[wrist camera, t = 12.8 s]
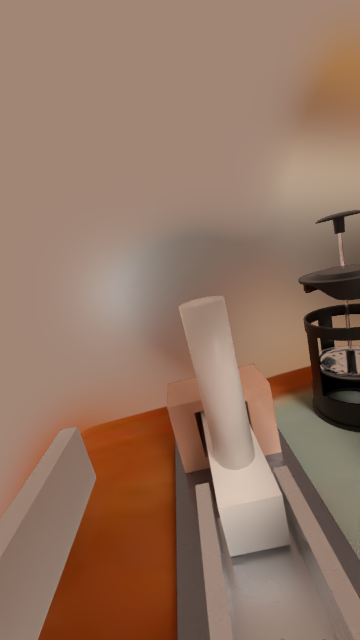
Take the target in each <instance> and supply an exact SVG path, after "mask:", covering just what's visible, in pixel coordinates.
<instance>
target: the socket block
mask: <svg viewBox="0 0 360 640" xmlns="http://www.w3.org/2000/svg"><path fill="white" fill-rule="evenodd" d="M238 370H239V375H240V380H241V385H242V390H243V395H244V400H245V405H246V410H247V415H248V420H249V424H250V426H251V428H252V430H253V433H254V435H255V437H256V439H257V441H258V443H259V446H260V448H261V450H262V452H263V454H264V456H266V455H270V454H275V453H279V452H281V446H280V440H279V434H278V428H277V423H276V417H275V411H274V405H273V399H272V394H271V388H270V384H269V382H268V381H267V380H266V379H265V377H264V376H263V375H262V373H261V372H260V371H259V369H258V368H257V367H256V366H255V364H249V365H245V366H241V367H238ZM167 410H168V413H169V417H170V421H171V424H172V428H173V431H174V435H175V438H176V442H177V446H178V449H179V453H180V456H181V460H182V463H183V467H184V470H185V473H188V472H193V471H198V470H202V469H207V468H211V467H210V461H209V456H208V450H207V445H206V439H205V433H204V428H203V422H202V417H201V413H200V412H201V411H204V409H203V404H202V400H201V396H200V392H199V388H198V384H197V380H196V377H193V378H189V379H185V380H181V381H176V382H172V383H168V394H167Z"/></svg>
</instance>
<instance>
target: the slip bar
mask: <svg viewBox="0 0 360 640" xmlns="http://www.w3.org/2000/svg"><path fill="white" fill-rule="evenodd" d="M179 310H180V314H181V318H182V322H183V327H184V331H185V335H186V339H187V343H188V347H189V351H190V355H191V359H192V363H193V367H194V371H195V375H196V380H197V384H198V388H199V392H200V396H201V400H202V404H203V409H204V411H201V412H200V413H201V417H202V422H203V428H204V433H205V439H206V445H207V450H208V456H209V461H210V467H211V473H212V478H213V484H214V489H215V495H216V501H217V506H218V511H219V515H220V519H221V523H222V526H223V530H224V534H225V538H226V542H227V546H228V550H229V554H230V557H232V556H237V555H242V554H247V553H251V552H256V551H261V550H266V549H270V548H275V547H280V546H285V545H290V544H291V541H290V535H289V529H288V524H287V518H286V513H285V507H284V502H283V496H282V493H281V491H280V489H279V487H278V485H277V482H276V480H275V478H274V476H273V474H272V472H271V469H270V467H269V465H268V463H267V461H266V459H265V456H264V454H263V452H262V450H261V448H260V446H259V443H258V441H257V439H256V437H255V435H254V433H253V430H252V428H251V426H250V424H249V420H248V415H247V410H246V405H245V400H244V395H243V390H242V385H241V380H240V375H239V370H238V365H237V360H236V355H235V350H234V345H233V340H232V335H231V330H230V325H229V320H228V315H227V310H226V305H225V300H224V297H223V296H210V297H204V298H200V299H195V300H192V301H189V302H186V303H184V304H182V305H180V306H179Z"/></svg>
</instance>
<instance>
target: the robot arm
mask: <svg viewBox="0 0 360 640" xmlns="http://www.w3.org/2000/svg"><path fill="white" fill-rule="evenodd" d="M96 478H97V477H96V474H95V472H94V469H93V466H92V464H91V461H90V458H89V456H88V453H87V450H86V448H85V445H84V442H83V439H82V437H81V434H80V431H79V429H78V426H76V427H72V428H67V429H62V430H60V432H59V433H58V435H57V436H56V438H55V439H54V441H53V442H52V444H51V445H50V447H49V448H48V450H47V451H46V453H45V454H44V455H43V457H42V458H41V460H40V461H39V463H38V465H37V466H36V467H35V469H34V471H33V472H32V474H31V475H30V476H29V478H28V479H27V481H26V482H25V484H24V486H23V487H22V488H21V490H20V491H19V493H18V494H17V496H16V497H15V499H14V500H13V502H12V503H11V505H10V506H9V508H8V509H7V511H6V512H5V514H4V515H3V517H2V518H1V520H0V640H38V638H39V635H40V633H41V630H42V627H43V624H44V622H45V619H46V616H47V613H48V611H49V608H50V605H51V602H52V600H53V597H54V594H55V591H56V588H57V586H58V583H59V580H60V577H61V575H62V572H63V569H64V566H65V564H66V561H67V558H68V555H69V553H70V550H71V547H72V544H73V541H74V539H75V536H76V533H77V530H78V528H79V525H80V522H81V519H82V517H83V514H84V511H85V508H86V506H87V503H88V500H89V497H90V494H91V492H92V489H93V486H94V483H95V481H96Z"/></svg>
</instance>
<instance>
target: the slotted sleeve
mask: <svg viewBox="0 0 360 640" xmlns="http://www.w3.org/2000/svg"><path fill="white" fill-rule="evenodd" d="M277 428H278V427H277ZM278 434H279V440H280V446H281V452H279V453H275V454H270V455H266V456H265V459H266V461H267V463H268V465H269V467H270V469H271V472H272V474H273V476H274V478H275V480H276V482H277V485H278V487H279V489H280V491H281V493H282V496H283V502H284V507H285V513H286V518H287V524H288V529H289V535H290V541H291V544H290V545H285V546H280V547H275V548H270V549H266V550H261V551H256V552H251V553H247V554H242V555H237V556H232V557H230V554H229V550H228V546H227V542H226V538H225V534H224V530H223V526H222V523H221V519H220V515H219V511H218V506H217V501H216V495H215V489H214V484H213V478H212V473H211V468H207V469H202V470H198V471H193V472H188V473H185V470H184V467H183V463H182V460H181V456H180V453H179V449H178V446H177V442H176V438H175V453H176V541H177V629H178V640H360V560H359V559H358V557H357V555H356V554H355V552H354V550H353V549H352V547H351V546H350V544H349V542H348V541H347V539H346V538H345V536H344V534H343V533H342V531H341V529H340V528H339V526H338V525H337V523H336V521H335V520H334V518H333V516H332V515H331V513H330V512H329V510H328V508H327V507H326V505H325V504H324V502H323V500H322V499H321V497H320V495H319V494H318V492H317V491H316V489H315V487H314V486H313V484H312V483H311V481H310V479H309V478H308V476H307V474H306V473H305V471H304V470H303V468H302V466H301V465H300V463H299V461H298V460H297V458H296V457H295V455H294V453H293V452H292V450H291V449H290V447H289V445H288V444H287V442H286V440H285V439H284V437H283V436H282V434H281V432H280V431H279V429H278Z"/></svg>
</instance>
